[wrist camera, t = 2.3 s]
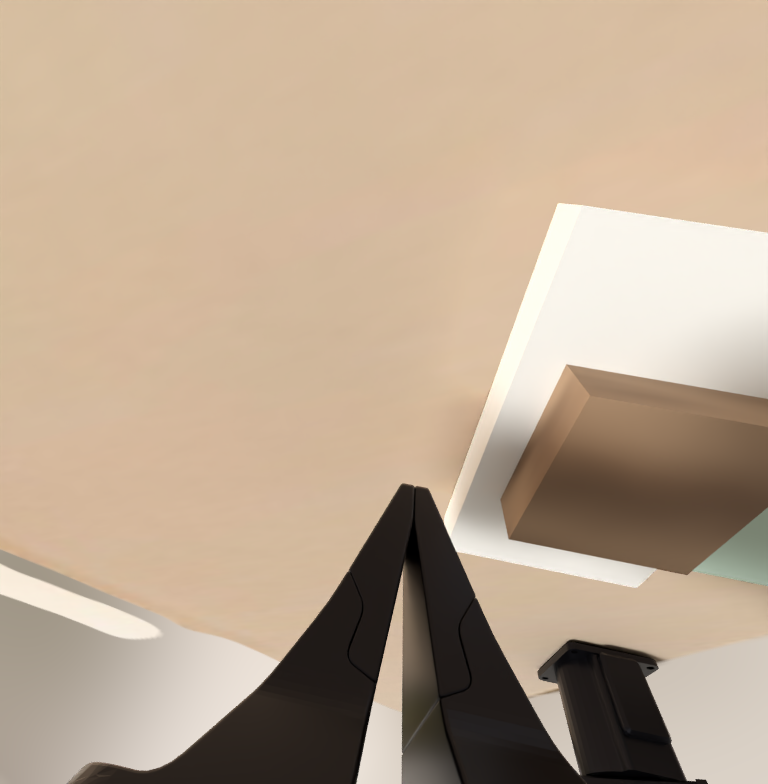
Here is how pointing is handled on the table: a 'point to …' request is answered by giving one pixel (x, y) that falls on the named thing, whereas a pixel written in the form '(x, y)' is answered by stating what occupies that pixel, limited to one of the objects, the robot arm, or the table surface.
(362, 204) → the table surface
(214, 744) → the robot arm
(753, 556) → the mat
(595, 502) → the tile
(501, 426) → the plate
